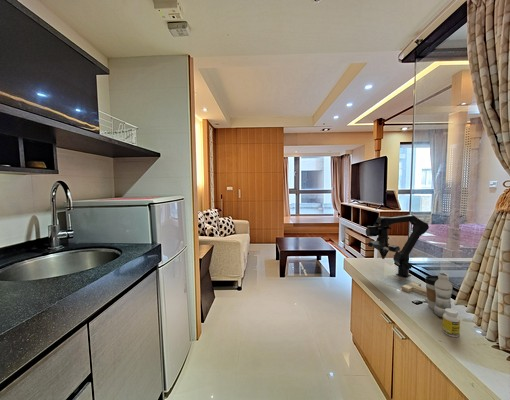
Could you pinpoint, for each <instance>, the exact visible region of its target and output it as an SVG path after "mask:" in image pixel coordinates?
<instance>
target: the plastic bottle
mask: <svg viewBox="0 0 510 400" xmlns="http://www.w3.org/2000/svg"><path fill="white" fill-rule="evenodd" d="M437 276H438V278H439V279H438V280H437V281H436V282H435V284H434V285H435V292H436V301H435V306H434V309H433V312H434V313H435V315H436V316H438V317H439V318H442V319H443V314H444V313H445V309H446V308H450V309H452V302H451V297H452V293H453V285H452V283H451V282H450V281H449V280H450V278H449V274H447V273H443V272H438V273H437Z"/></svg>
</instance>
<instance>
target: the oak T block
mask: <svg viewBox="0 0 510 400" xmlns="http://www.w3.org/2000/svg"><path fill="white" fill-rule="evenodd" d="M422 287H423V286H422V284H421V283H419V282H417V281H412V282H410V283H409V284H406V285H404V286H402V290H404V291H403V292H405V291H407V292H406V293H408V292H411V291H415V292H418V293H421V294H423V295H426V296H427V291H426V289H425V288H426V287H424V288H422ZM402 290H401V291H402Z"/></svg>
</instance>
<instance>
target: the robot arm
mask: <svg viewBox="0 0 510 400" xmlns="http://www.w3.org/2000/svg"><path fill="white" fill-rule="evenodd" d="M401 223H410V224H411V226H412V228H411V234H410V235H409V237H408V239H407V240H406V242H405V243H404V245H403V247H402V249H401V248H400V246H399V245H394V244H393V245H390V242H389V240H390V236H389V230H392V227H391V225H394V224H401ZM365 229H366V230H365V234H366V237H368V238H369V237H376V240H375V241H374V240H371V241H368V242H367V246H368V247H371V248H373V249H376V250H377V251H378V252H379V254H380V257H381V259H382V260H385V258H386V256H387V254H388V253H389V252H391V253H394V255H393V262H394V263H395V264H396V265H397V266H398V267H397V273H395V275H396V276H399V277H401V278H404V279H406V278H409V277H412V274H410V269H412V267H413V266H412V264H411V263H410V262H409V261H410V253H411V252H412V250H413V249H414V247H415V245H416V244H417V243H418V241H419V239H420V237H421V236H422V235H424V234H426V233H427V231H428V230H429V229H430V226H429V224H428V223H427V222H425V221H423V220H421V219H420V218H418V217H417V216H416V215H412V214H407V215H398V216H392V217H390V216H378V217H377V219H376V221H375V222H374V224H373V226H371V225H367V226H366V228H365Z"/></svg>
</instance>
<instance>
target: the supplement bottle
mask: <svg viewBox="0 0 510 400" xmlns="http://www.w3.org/2000/svg"><path fill="white" fill-rule="evenodd" d="M458 312H459V311H457V310H456V309H453V308H451V309H450V308H446V309H445V313H444V314H443V318H442V332H443V333H444V334H445V335H447V336H450V337H452V338H459V336H460V331H461V330H460V329H461V327H460V325H461V319H460V317H459V316H458V315H459V313H458Z"/></svg>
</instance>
